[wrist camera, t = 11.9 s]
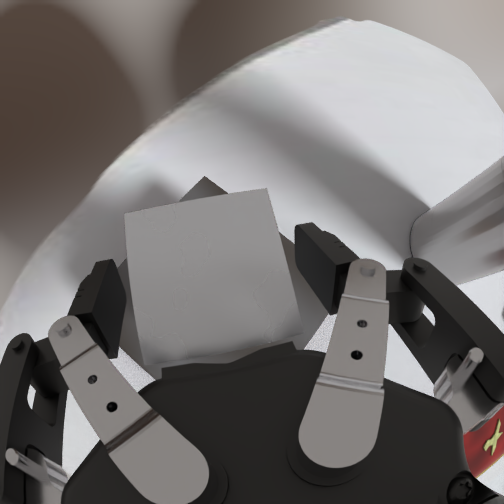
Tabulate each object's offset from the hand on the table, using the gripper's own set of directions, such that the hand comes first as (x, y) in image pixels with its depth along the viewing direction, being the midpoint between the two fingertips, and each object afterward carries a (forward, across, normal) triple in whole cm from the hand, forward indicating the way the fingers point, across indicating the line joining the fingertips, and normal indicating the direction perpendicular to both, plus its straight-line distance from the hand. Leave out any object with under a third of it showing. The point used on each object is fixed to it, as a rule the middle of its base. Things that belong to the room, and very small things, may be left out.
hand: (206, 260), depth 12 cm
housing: (+4, 0, +5) cm, 6 cm away
